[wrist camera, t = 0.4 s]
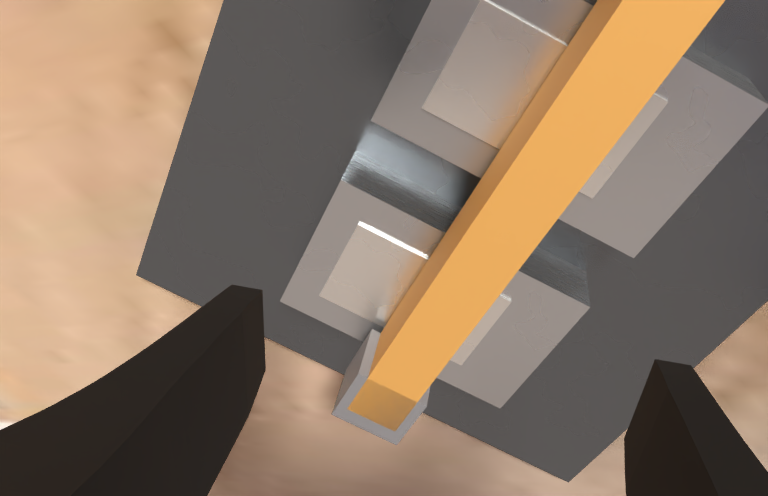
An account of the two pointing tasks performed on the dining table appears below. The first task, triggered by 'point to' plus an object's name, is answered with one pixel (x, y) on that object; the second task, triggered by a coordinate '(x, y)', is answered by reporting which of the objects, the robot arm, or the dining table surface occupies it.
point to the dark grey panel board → (359, 134)
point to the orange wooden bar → (518, 201)
